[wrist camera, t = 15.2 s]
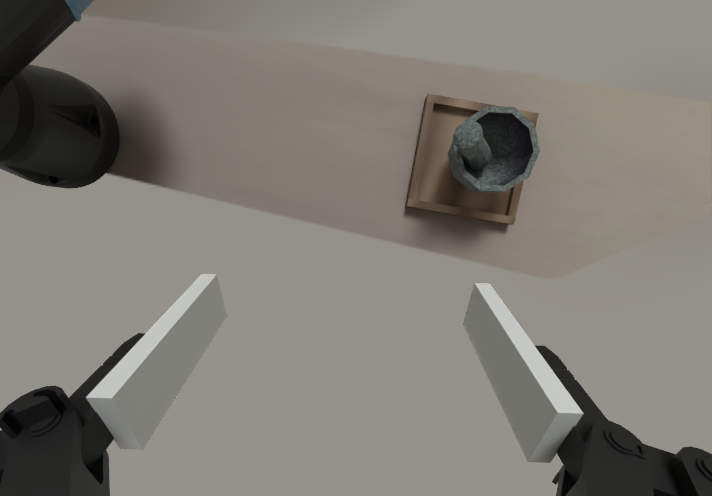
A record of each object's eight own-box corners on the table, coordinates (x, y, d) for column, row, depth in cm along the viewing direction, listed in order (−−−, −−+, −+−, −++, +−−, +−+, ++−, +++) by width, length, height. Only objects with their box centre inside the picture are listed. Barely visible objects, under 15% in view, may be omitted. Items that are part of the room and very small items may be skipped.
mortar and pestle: (510, 129, 38) (581, 85, 26) (503, 198, 38) (569, 187, 27) (428, 125, 38) (461, 80, 26) (423, 194, 38) (453, 181, 27)
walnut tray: (405, 206, 39) (407, 205, 38) (425, 98, 38) (428, 93, 36) (507, 224, 39) (513, 224, 38) (531, 117, 38) (538, 113, 37)
